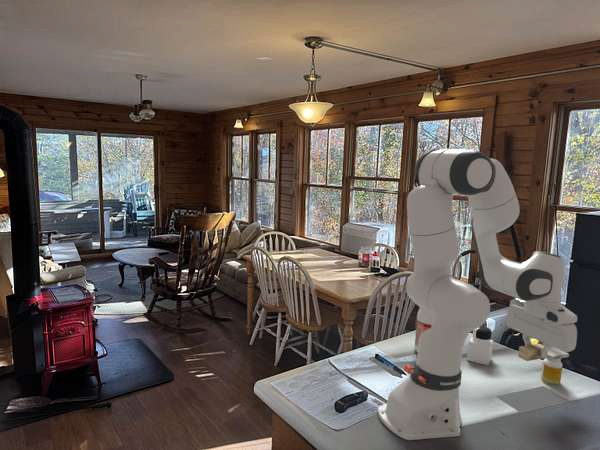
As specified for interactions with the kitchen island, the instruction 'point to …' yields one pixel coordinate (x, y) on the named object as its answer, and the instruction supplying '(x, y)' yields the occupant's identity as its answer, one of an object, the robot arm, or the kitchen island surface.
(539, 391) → the mat
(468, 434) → the kitchen island surface
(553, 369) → the supplement bottle
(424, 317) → the fruit juice
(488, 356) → the medicine bottle
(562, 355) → the putty knife
